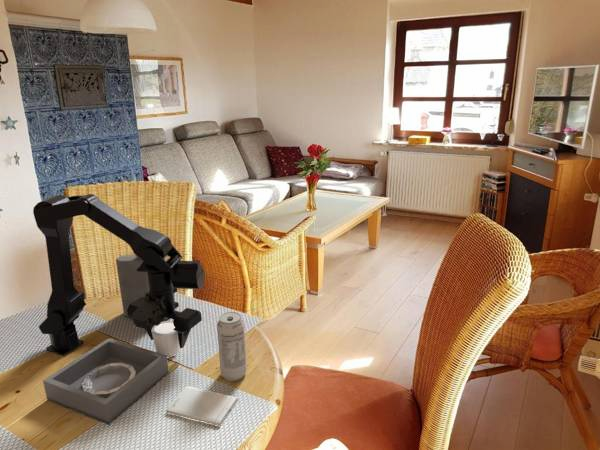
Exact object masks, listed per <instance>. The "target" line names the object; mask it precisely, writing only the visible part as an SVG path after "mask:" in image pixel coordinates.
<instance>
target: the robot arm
mask: <svg viewBox="0 0 600 450" xmlns="http://www.w3.org/2000/svg"><path fill="white" fill-rule="evenodd" d="M32 214H33V217H34V220H35V224H36V227H37V228H38V229H39V231H40V232H41V233H42V234H43V235H44V237H45V247H46V253H47V260H48V261H47V262H48V268H49V269H48V270H49V277H50V287H51V292H50V296H49V298H48V302H47V304H46V305H47V306H46V318H45V319H44V320H43V321H42V322H41V324H40V325H38V329H39V330H40V331H41V332H40V333H42V334H43V335H48V336H49V341H50V345H48V346H47V347H46V348H45V349H46V351H47V352H51V353H54V354H56V355H60V356H65V355H67V354H69V353H71V352H72V351H73V350H75V349H77V348H79V346H81V345H83V344H84V343H85V340H82V339H79V336H78V335H79V334H78V331H77V328H76V324H75V323H74V322H75V321H76V320H77V319H79V317H80V314H81V313H82V312H83V311H84V307H85V306H86V305H87V304H86V301H85V292H84V291H79V290H78V289H77V288H76V287H75V283H74V282H75V281H74V276H73V275H74V274H73V265H72V264H73V263H72V256H71V245H70V239H69V238H70V237H69V235H70V234H69V232H70V229H71V227H72V224H73V221H74V218H75V217H77V216H85V217H86V218H87V219H90V220H91V221H93V222H94V223H95V224H97V225H99V226H101V227H102V228H103V229H105V230H106V231H107V232H110V233H111V234H112V235H114V236H116V237H117V238H119V239H120V240H122V241H123V242H125V243H126V244H127V245H128V246H129V247H130V249H131V250H132V252H133V255H137V256H138V257H139V258H140V259H141V260H142V261H143V262H142V264H141V265H140V266H139V267H138V268H137V271H139V272H146V275H147V283H148V291H149V292H147V293H146V294H145V298H144V297H141V298H139V299H137V300H136V301H134V302H132V303H131V304H129V306H128V308H127V313H128V316H130V317H129V318H130V319H131V320H132V322H133V324H134V325H135V327H136V328H137V329H138V328H139V329H142V330H145V331H146V334H147V335H148V337H149V339H150V340H151V341H154V340H153V335H152V331H151V330H152V328H153V327H154V326H155V325H156V326H158V325H159V324H160V323H161V322H164V320H163V319H164V318H165V317H166V318H169V319H171V320H172V321H173V325H174V327H175V328H174V329H173V330H175V331H176V332H177V333H178V340H179V346H180V349H183V348H184V347H185V345H186V342H187V340H188V338H189V335H190V333H191V330H192V329H193V328H194V327H195V326H196V325H198V324H199V323H200V322H202V321H203V318H202V317H203V316H202V313H201V311H199V310H197V309H193V308H189V307H185V308H184V309H183V310H182V311H178V310H176V309H177V308H179V306H180V304H179V302H177V301H175V293H177V292H178V289H179V290H180V289H181V290H202V289H203V287H204V284H205V276H206V275H205V272H206V271H205V270H204V267H203V265H202V264H201V260H197V259H196V260H183V255H182V254H181V253H180V252H179V250H177V249H176V247H175V246H174V245H173V244H172V240H171V238H170V237H169V236H168V235H166V234H163V233H161V232H159V231H157V230H155V229H152V228H147V227H143V226H141V225H139V224H137V223H136V222H134V221H133V220H131V219H130V218H128V217H126V216H125V215H124V214H122V213H120V212H119V211H117V210H116V209H114V208H113V207H111V206H110V205H108V204H107V203H105V202H104V201H102V200H101V199H100V198H99V197H98V196H97V195H96V194H93V193H92V194H91V193H88V194H85V195H84V194H83V195H80V194H79V195H71V196H66V195H62V194H55V195H54V196H51V197H48V198H47V199H44V200H42V201H39V202H37V203H36V204H35V206H34V207H33V209H32ZM167 257H169V258H167ZM164 258H167V261H165V260H164Z"/></svg>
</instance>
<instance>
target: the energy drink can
mask: <svg viewBox="0 0 600 450" xmlns="http://www.w3.org/2000/svg"><path fill="white" fill-rule="evenodd" d="M216 324H217V325H216V329H217V330H216V331H217V340H218V341H217V343H218V345H217V346H218V356H219V370H220V375H221V376H222V377H223V378H224V379H225V380H226V381H228V382H229V381H230V382H235V381H239V380H242V379H243V378H244V377H245V374H246V373H247V372H248V371H247V369H248V368H247V366H248V365H247V353H246V352H247V350H246V333H245V332H246V331H245V321H244V320H243V319H242V315H241V314H240V313H239V312H236V311H227V312H224V313H222V314H221V315H219V318H218V321H217V323H216Z"/></svg>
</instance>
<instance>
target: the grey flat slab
mask: <svg viewBox="0 0 600 450" xmlns="http://www.w3.org/2000/svg"><path fill="white" fill-rule="evenodd" d="M238 401H239V397H237V396H232V395H228V394H224V393H220V392H219V393H218V392H216V391H210V390H206V389H201V388H197V387H193V386H189V385H188V386H185V387H184V389H183V390H182V391H181V392H180V393H179V394H178V395H177V396H176V397H175V399H174V400H173V401H172V402H171V403H170V405H169V406H168V407H167V408H166V410H165V414H166V413H170V414H174V415H178V416H183V417H187V418H191V419H195V420H199V421H204V422H207V423H211V424H213V425H218V426H221V427H222V425H223V424H224V422H225V421H226V419H227V418H226V417H228V416H229V415H230V414H231V411H232V410H233V409H234V408H235V406H236V404H237V403H238ZM228 414H229V415H228ZM225 418H226V419H225ZM224 420H225V421H224ZM223 421H224V422H223ZM222 423H223V424H222ZM221 424H222V425H221ZM213 425H212V426H213Z"/></svg>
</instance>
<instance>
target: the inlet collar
mask: <svg viewBox="0 0 600 450" xmlns="http://www.w3.org/2000/svg"><path fill="white" fill-rule="evenodd" d="M110 371H124V372H127V373H129V374H130V377H129V380H131V379H132V378H133V377H134V376H136V371H135V369H134V368H133V366H132V365H129V364H125V363H110V364H107V365H104V366H101V367H98V368H96V369H94V370H93V371H91V372H90V373H89V374H87V375H86V376H85V378H84V380H83V382H82V383H81V385H82V390H83V391H86V392H88V393H91V394H94V395H96V396H99V397H102V398H104V399H107V398H108V397H109V396H110V395H112V394H113V393H114V392H115V391H117V390H118V389H119V388H120V387H122V386H123V385H124V384H126V383H127V382H128V381H129V380H128V381H126V382H125V383H124V384H123V385H121V386H120V387H117V388H114V389H112V390H109V391H94V390H92V389H89V388H88V386H89V385H90V383H91V381H92V380H94V379H95V378H97V377H98V376H99V375H102V374H105V373H108V372H110Z"/></svg>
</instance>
